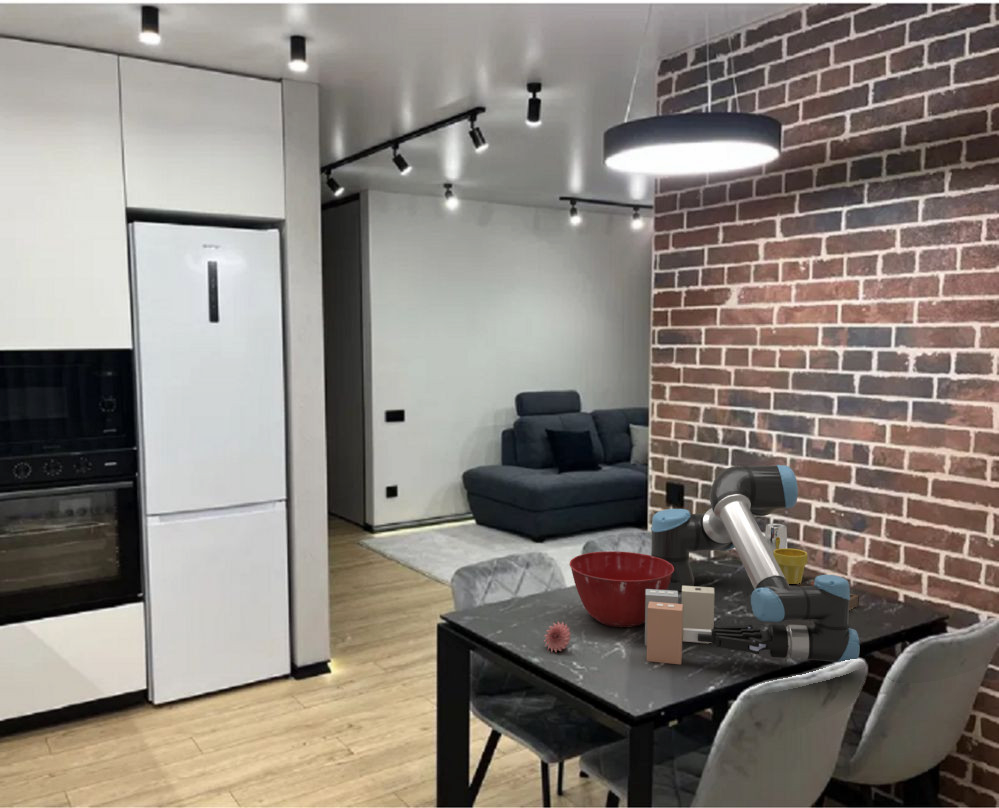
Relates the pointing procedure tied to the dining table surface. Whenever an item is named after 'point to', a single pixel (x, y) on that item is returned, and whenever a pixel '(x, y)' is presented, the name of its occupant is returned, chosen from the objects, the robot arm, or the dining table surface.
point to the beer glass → (776, 536)
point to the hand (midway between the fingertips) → (683, 634)
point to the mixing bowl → (618, 584)
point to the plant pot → (791, 563)
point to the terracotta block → (664, 632)
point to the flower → (557, 637)
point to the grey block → (658, 596)
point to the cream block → (698, 608)
